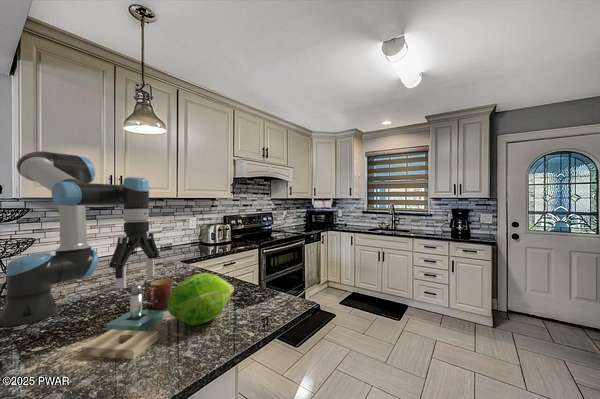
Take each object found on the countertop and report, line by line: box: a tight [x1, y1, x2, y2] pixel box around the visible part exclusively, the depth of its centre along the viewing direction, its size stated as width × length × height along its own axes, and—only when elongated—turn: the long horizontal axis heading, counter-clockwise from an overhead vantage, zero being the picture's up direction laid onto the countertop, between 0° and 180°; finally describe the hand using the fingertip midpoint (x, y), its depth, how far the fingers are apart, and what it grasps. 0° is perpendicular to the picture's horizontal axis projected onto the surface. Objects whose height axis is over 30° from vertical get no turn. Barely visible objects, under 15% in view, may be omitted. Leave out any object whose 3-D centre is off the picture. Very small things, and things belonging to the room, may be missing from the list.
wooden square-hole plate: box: [81, 329, 159, 360], centre depth 76 cm, size 16×10×2 cm, turn 83°
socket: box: [105, 309, 164, 333], centre depth 90 cm, size 12×12×3 cm
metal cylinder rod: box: [129, 284, 143, 320], centre depth 90 cm, size 4×4×14 cm
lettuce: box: [167, 272, 235, 326], centre depth 93 cm, size 19×25×17 cm
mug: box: [146, 278, 175, 310], centre depth 105 cm, size 12×9×10 cm
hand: (136, 281), depth 90 cm, fingers open, 13 cm apart
